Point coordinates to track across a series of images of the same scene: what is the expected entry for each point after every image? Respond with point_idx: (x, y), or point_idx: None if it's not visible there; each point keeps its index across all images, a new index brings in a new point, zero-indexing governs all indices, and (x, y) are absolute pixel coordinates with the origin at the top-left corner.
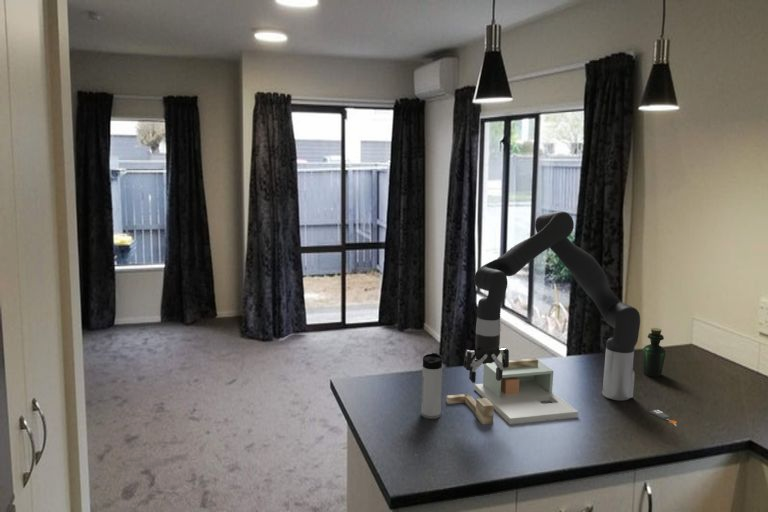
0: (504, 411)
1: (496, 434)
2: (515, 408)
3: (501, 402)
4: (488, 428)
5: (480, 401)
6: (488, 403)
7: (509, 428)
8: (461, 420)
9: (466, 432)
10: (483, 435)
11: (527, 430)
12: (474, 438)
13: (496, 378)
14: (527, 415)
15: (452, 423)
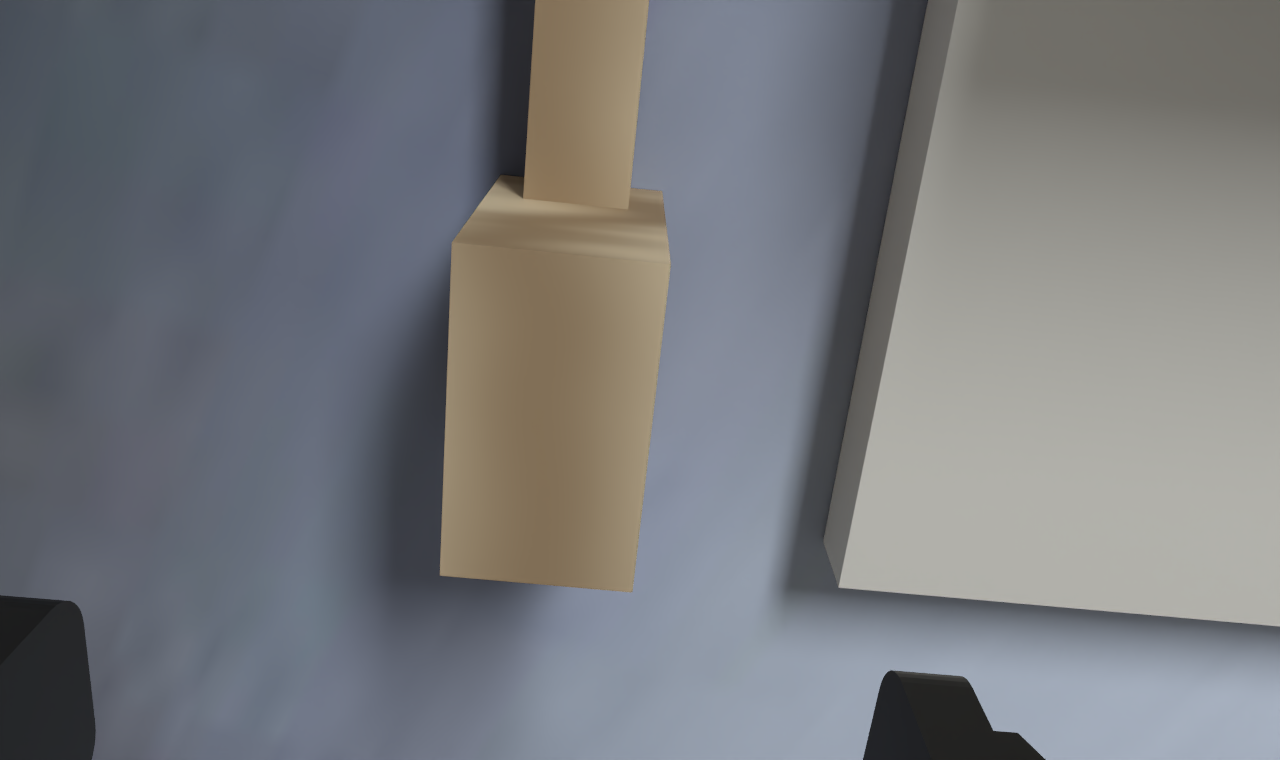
0: (906, 374)
1: (522, 697)
2: (1141, 332)
3: (1095, 35)
4: None
5: (474, 385)
6: (577, 506)
7: (755, 622)
8: (234, 237)
9: (184, 561)
10: (361, 676)
11: None
12: (228, 704)
13: (885, 718)
14: (1129, 579)
15: (72, 285)
